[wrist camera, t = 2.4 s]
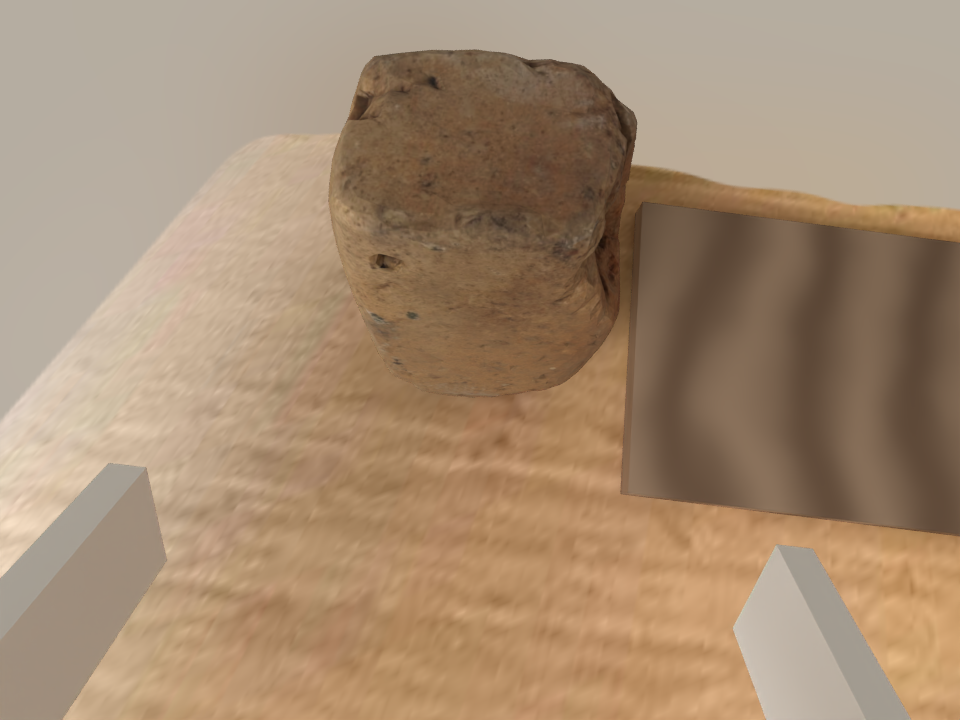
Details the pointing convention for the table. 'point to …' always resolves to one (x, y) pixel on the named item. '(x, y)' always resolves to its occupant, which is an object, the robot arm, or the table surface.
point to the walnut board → (794, 369)
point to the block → (482, 216)
